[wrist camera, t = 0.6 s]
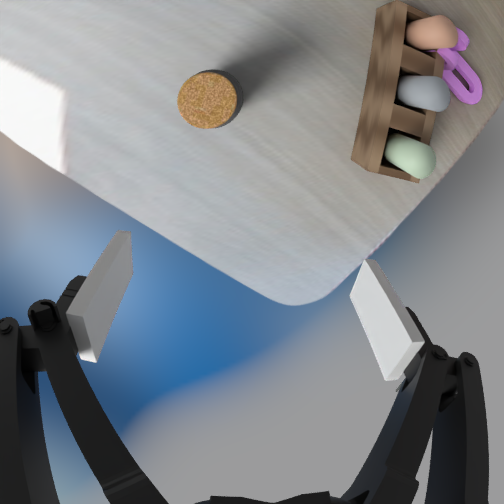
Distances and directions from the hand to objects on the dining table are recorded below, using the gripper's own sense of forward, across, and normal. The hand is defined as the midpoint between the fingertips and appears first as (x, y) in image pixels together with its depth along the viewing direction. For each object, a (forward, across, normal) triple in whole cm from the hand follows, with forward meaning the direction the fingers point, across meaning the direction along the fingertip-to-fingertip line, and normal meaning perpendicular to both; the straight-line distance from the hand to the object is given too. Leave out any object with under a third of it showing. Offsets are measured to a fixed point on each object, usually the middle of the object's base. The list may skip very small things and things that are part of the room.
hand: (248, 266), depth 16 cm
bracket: (+26, +28, +21) cm, 43 cm away
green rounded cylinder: (+21, +19, +6) cm, 29 cm away
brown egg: (+21, +18, +22) cm, 36 cm away
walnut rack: (+26, +18, +14) cm, 35 cm away
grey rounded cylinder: (+21, +18, +14) cm, 31 cm away
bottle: (+26, -4, +7) cm, 27 cm away
